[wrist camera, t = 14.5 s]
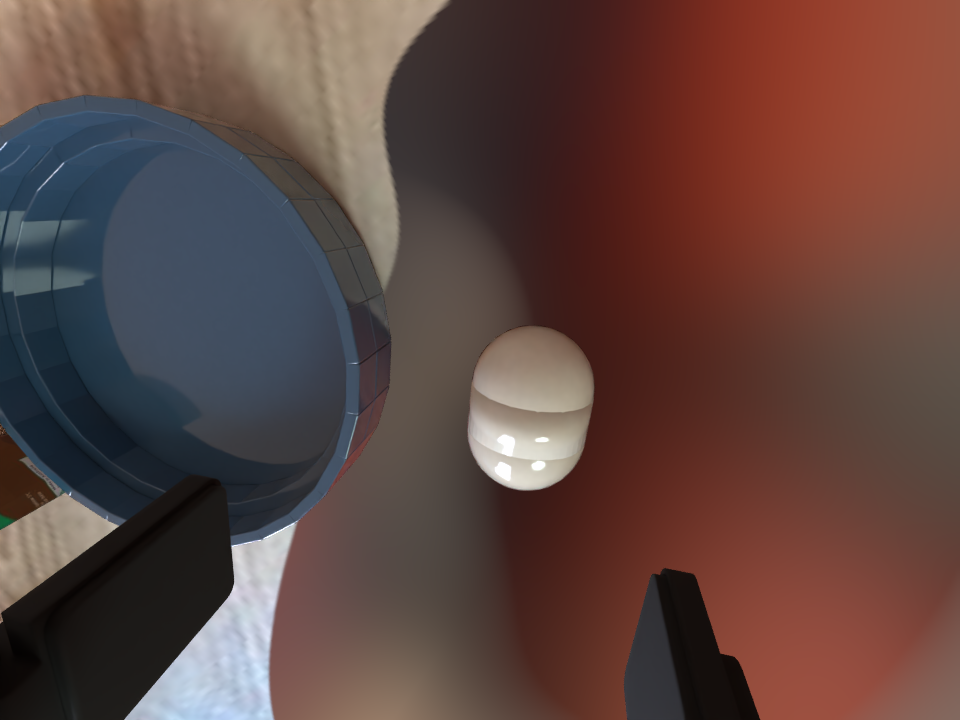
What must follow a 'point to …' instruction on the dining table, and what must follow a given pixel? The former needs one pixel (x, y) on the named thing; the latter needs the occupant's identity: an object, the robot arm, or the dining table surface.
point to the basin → (181, 313)
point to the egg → (530, 407)
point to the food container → (21, 484)
